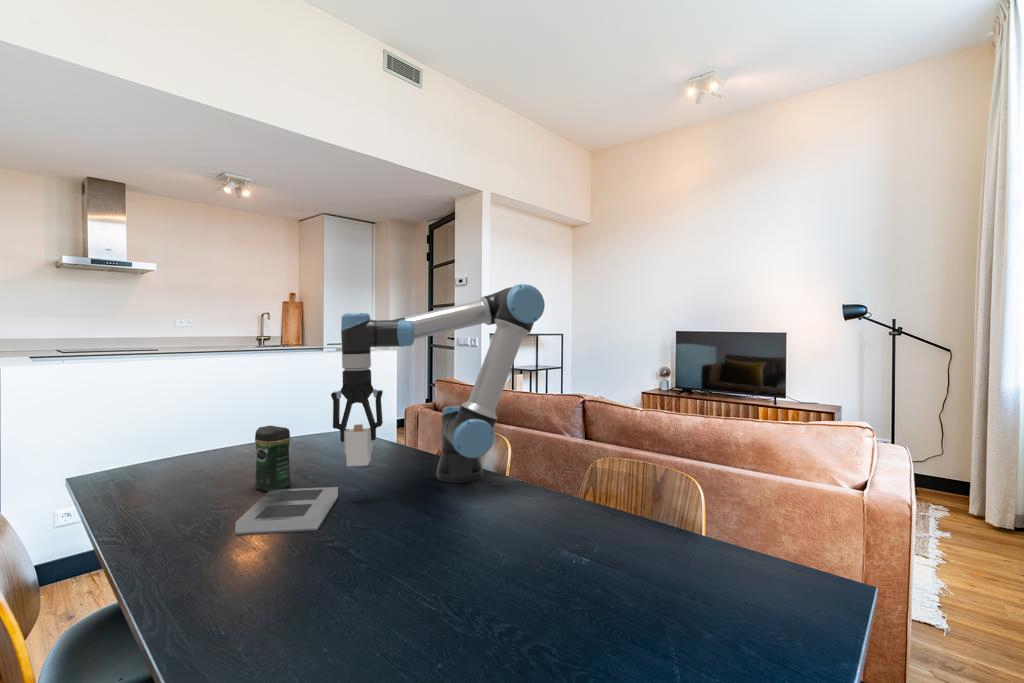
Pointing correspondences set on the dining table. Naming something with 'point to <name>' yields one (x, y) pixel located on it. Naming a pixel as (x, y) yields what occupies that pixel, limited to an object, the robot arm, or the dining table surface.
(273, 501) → the socket plate
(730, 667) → the dining table surface
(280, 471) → the coffee jar
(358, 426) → the white rectangular block
